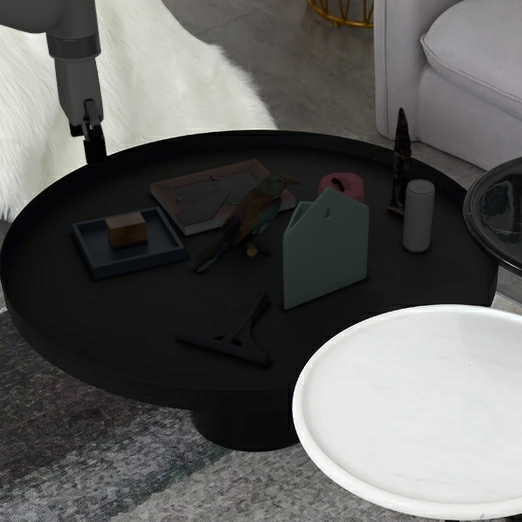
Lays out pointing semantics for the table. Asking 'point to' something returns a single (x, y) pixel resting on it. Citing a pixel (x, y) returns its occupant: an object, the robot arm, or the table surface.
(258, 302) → the bracket
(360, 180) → the apple
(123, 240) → the brown wooden block
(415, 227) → the beverage can
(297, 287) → the planter
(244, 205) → the bird figurine
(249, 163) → the picture frame
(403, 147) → the statue
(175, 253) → the tray
